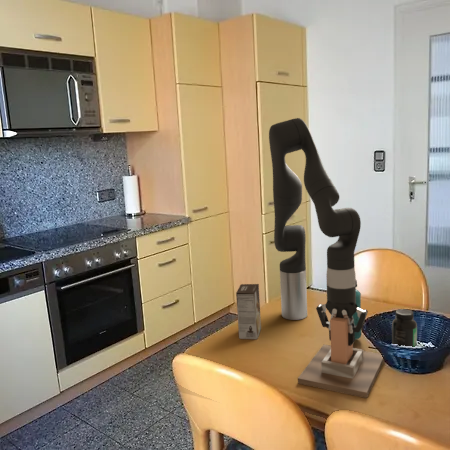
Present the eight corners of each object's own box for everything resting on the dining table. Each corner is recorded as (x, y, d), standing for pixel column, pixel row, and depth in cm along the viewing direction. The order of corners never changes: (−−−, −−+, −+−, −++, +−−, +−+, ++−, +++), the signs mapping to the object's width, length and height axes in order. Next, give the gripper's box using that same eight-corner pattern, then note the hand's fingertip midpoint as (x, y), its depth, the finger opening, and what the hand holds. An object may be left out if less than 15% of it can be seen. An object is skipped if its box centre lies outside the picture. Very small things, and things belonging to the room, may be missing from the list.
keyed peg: (331, 361, 128) (330, 320, 126) (338, 351, 134) (337, 310, 131) (346, 364, 126) (345, 322, 124) (352, 353, 132) (352, 312, 129)
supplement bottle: (421, 353, 137) (421, 314, 135) (399, 356, 136) (399, 317, 134) (408, 343, 144) (409, 306, 142) (387, 346, 143) (387, 309, 141)
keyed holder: (323, 348, 144) (323, 335, 143) (384, 359, 135) (384, 344, 135) (297, 383, 126) (297, 367, 125) (366, 398, 117) (366, 381, 116)
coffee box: (243, 327, 164) (240, 283, 161) (261, 328, 163) (259, 283, 160) (238, 339, 155) (235, 292, 152) (258, 339, 154) (255, 292, 151)
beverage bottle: (363, 337, 151) (362, 276, 147) (360, 346, 145) (359, 283, 141) (342, 334, 153) (341, 275, 150) (338, 343, 147) (337, 281, 144)
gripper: (310, 284, 126) (312, 344, 129) (364, 290, 119) (365, 353, 122) (319, 276, 132) (321, 334, 136) (371, 281, 125) (371, 342, 129)
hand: (342, 343), depth 129 cm, fingers closed on keyed peg, 4 cm apart
